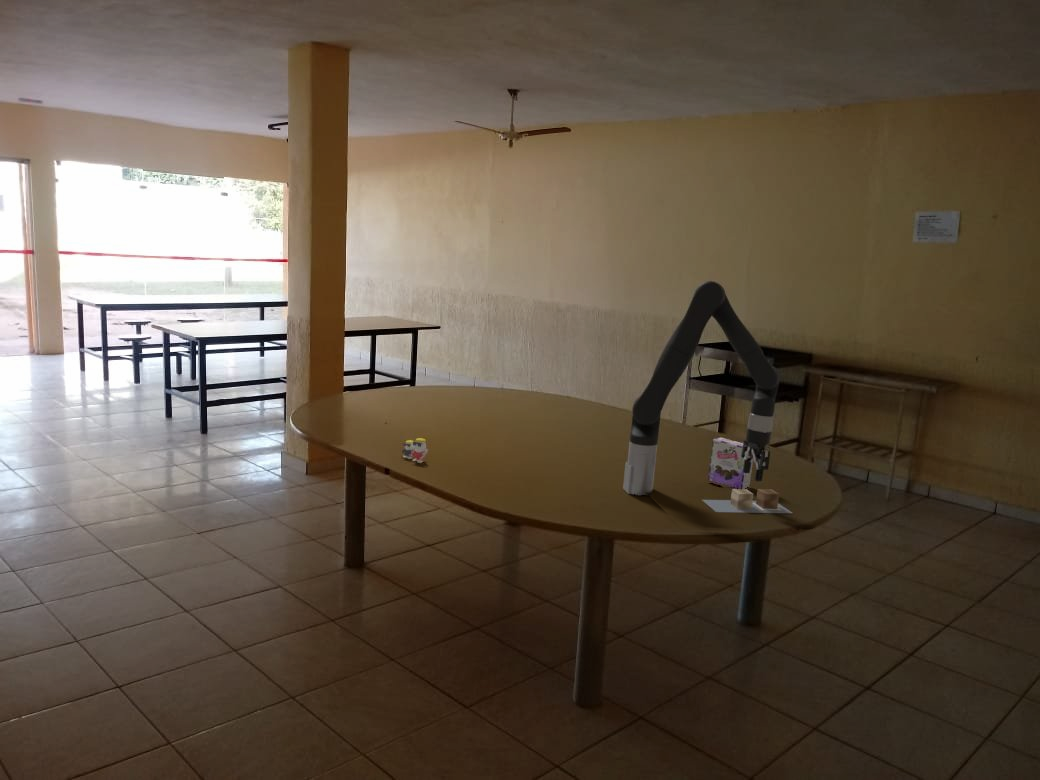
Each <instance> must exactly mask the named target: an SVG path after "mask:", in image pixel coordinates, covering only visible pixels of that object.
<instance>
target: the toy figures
mask: <svg viewBox="0 0 1040 780" xmlns="http://www.w3.org/2000/svg"><path fill="white" fill-rule="evenodd" d="M402 445H403V446H404V448H403V449H402V450H401V453H402V454H403V456H402V458H405V459H408V460H411V461H412V462H414V461H417V463H418V464H419V463H420V464H423V463H422V462H424V459H423V458H426V455H427V454H428V452H429V449H428V448H427V444H426V439H425V438H421V437H418V438H416V439H415V440H413V439H412V440H411V439H409V440H408V439H407V440H406V441H405V442H403V444H402ZM413 457H414V458H413Z"/></svg>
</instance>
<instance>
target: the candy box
mask: <svg viewBox="0 0 1040 780" xmlns="http://www.w3.org/2000/svg"><path fill="white" fill-rule="evenodd" d="M743 443H744V442H739V441H735V440H731V439H728V438H724V437H718V438H713V440H712V446H711V447H712V448H711V455H710V462H709V470H708V480H710V481H713V482H717V483H721V484H725V485H728V486H732V487H735V488H734V489H737V488H738V489H745V488H746V489H748V488H747V487H749V488H750V485H751V476H752V473H753V470H752V469H753V465H754V464H753V463H754V459H753V460H752V461H751V468H750V473H744V472H743V466H744V461H743V458H742V457H741V454H742V449H743ZM745 453H746V451H745ZM708 480H707V481H708Z"/></svg>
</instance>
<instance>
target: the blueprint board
mask: <svg viewBox="0 0 1040 780" xmlns="http://www.w3.org/2000/svg"><path fill="white" fill-rule="evenodd" d="M701 501H702V502H703V503H705V504H706V505H707V506H709V507H710V508H711V509H712V510H713V511H714V512H715V513H741V514H742V513H746V514H747V513H749V514H750V513H752V514H754V513H755V514H759V513H760V514H762V513H763V514H793V512H792V511H790V510H789V509H787V508H786V507H784V506H783V505H782V504H780V503H779V502H778V507H777V509H763V508H761V507H760V506H758V505H757V504H756V500H753V501H752V509H737V508H735V507H734V506H733V505H731V504H730V502H731V499H701Z"/></svg>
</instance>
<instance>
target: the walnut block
mask: <svg viewBox="0 0 1040 780" xmlns="http://www.w3.org/2000/svg"><path fill="white" fill-rule="evenodd" d="M779 498H780V493H778V492H776V491H775V490H774V489H771V488H757V491H756V499H755V501H756V504H757V505H758V506H760V507H761V508H763V509H777V507H778V503H779Z"/></svg>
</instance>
